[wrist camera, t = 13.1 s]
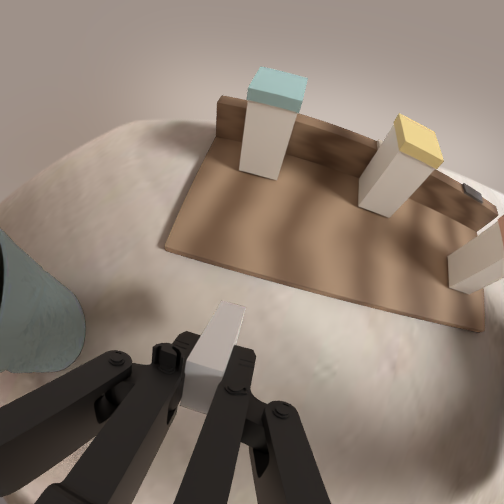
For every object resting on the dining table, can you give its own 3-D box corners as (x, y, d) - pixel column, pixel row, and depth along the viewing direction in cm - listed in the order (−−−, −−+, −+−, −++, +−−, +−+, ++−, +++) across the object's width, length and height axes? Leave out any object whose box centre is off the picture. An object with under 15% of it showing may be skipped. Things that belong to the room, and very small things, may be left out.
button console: (470, 226, 31) (497, 205, 25) (479, 332, 24) (515, 320, 19) (219, 134, 31) (221, 92, 25) (166, 251, 24) (152, 214, 19)
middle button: (388, 190, 29) (434, 132, 20) (390, 218, 27) (443, 161, 18) (358, 178, 29) (398, 113, 20) (357, 206, 27) (405, 141, 18)
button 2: (284, 153, 29) (307, 78, 20) (277, 181, 27) (302, 101, 18) (248, 144, 29) (260, 66, 20) (237, 170, 27) (248, 87, 18)
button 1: (467, 264, 27) (523, 227, 17) (469, 295, 25) (531, 263, 16) (446, 255, 27) (505, 213, 17) (448, 288, 25) (513, 252, 16)
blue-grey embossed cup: (101, 373, 19) (13, 367, 8) (22, 383, 17) (-65, 373, 6) (84, 266, 23) (15, 197, 12) (12, 288, 20) (-61, 240, 10)
